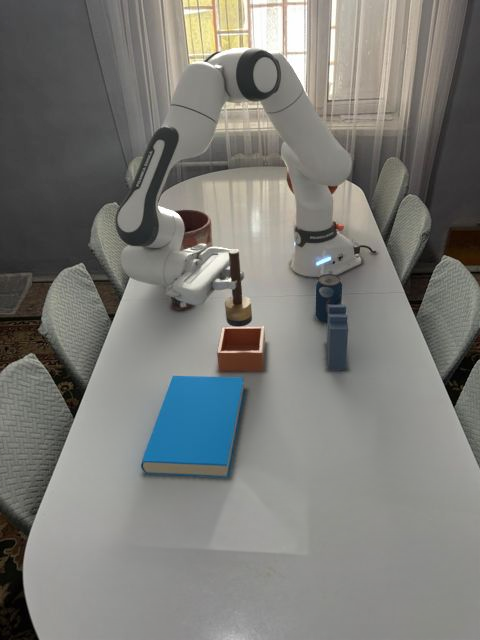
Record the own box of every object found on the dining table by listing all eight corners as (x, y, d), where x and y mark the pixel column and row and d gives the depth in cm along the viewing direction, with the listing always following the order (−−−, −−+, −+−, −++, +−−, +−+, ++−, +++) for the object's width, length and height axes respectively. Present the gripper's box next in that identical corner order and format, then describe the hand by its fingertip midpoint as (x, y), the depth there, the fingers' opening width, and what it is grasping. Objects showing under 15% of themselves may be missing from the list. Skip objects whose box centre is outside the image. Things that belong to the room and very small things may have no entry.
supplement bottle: (189, 311, 144) (184, 276, 137) (169, 310, 145) (163, 275, 139) (196, 300, 149) (190, 265, 142) (176, 299, 150) (170, 264, 143)
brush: (234, 336, 119) (188, 289, 116) (245, 322, 124) (201, 276, 121) (276, 306, 109) (227, 252, 106) (286, 292, 113) (239, 240, 110)
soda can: (330, 328, 135) (332, 289, 127) (309, 319, 138) (310, 280, 131) (345, 316, 139) (348, 278, 131) (325, 308, 142) (326, 270, 135)
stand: (328, 370, 121) (330, 323, 113) (326, 344, 129) (328, 299, 121) (345, 370, 121) (348, 323, 113) (342, 344, 129) (345, 299, 121)
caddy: (219, 371, 123) (217, 353, 119) (224, 344, 131) (222, 326, 128) (263, 371, 122) (262, 352, 119) (265, 344, 130) (264, 326, 127)
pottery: (152, 286, 157) (140, 231, 146) (174, 259, 170) (165, 207, 159) (206, 291, 153) (198, 235, 142) (224, 263, 166) (219, 211, 155)
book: (243, 376, 115) (228, 463, 95) (245, 391, 117) (230, 478, 97) (169, 375, 116) (138, 459, 96) (172, 389, 119) (142, 474, 99)
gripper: (158, 280, 108) (216, 291, 104) (204, 240, 123) (256, 248, 118) (163, 305, 112) (219, 317, 107) (207, 263, 127) (258, 272, 122)
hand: (239, 280), depth 113 cm, fingers closed on brush, 2 cm apart
